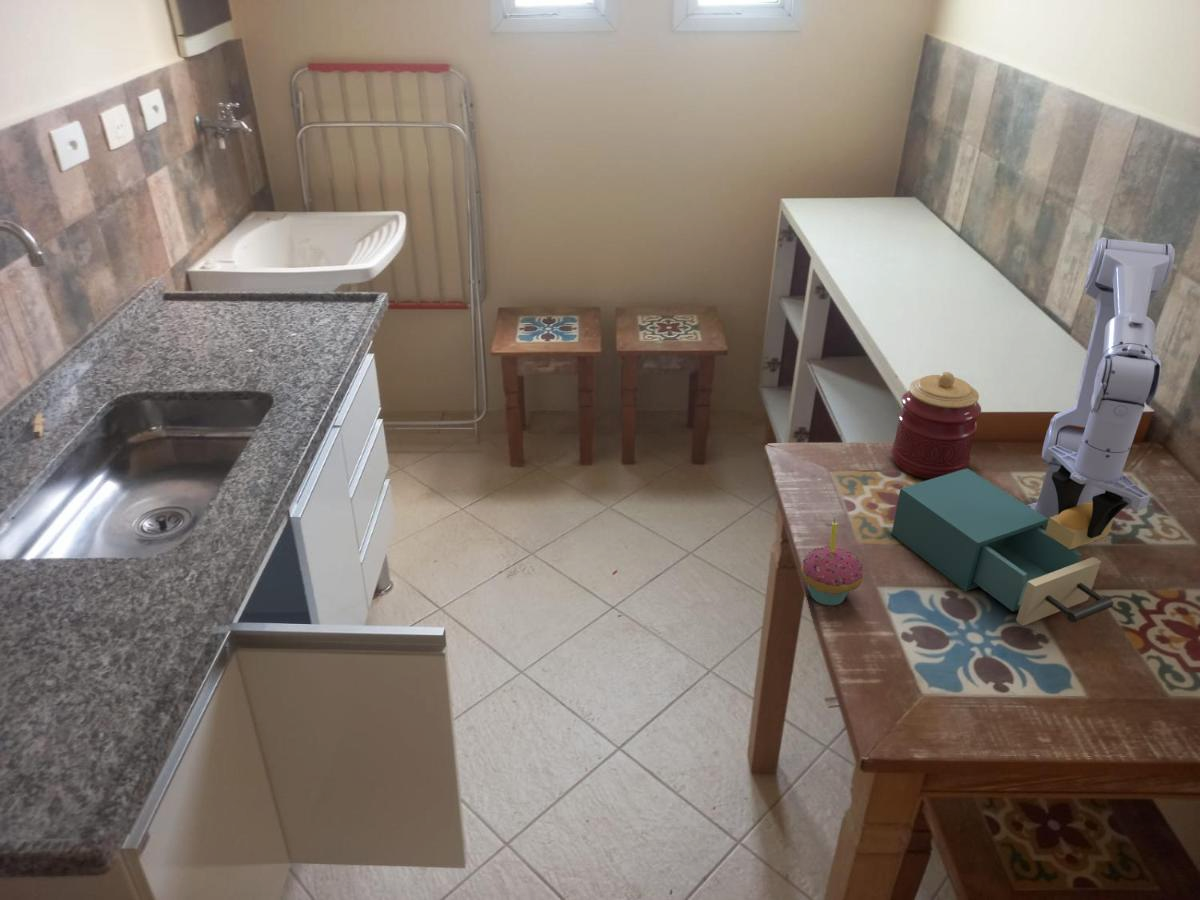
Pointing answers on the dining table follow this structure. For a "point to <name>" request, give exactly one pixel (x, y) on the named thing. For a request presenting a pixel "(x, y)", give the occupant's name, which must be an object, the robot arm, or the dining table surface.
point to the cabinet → (958, 521)
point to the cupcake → (831, 572)
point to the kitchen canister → (936, 426)
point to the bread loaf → (1074, 526)
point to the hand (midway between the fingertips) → (1078, 526)
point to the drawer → (1038, 577)
